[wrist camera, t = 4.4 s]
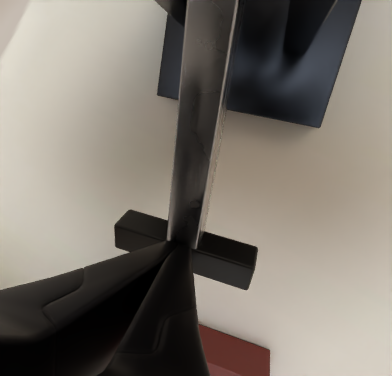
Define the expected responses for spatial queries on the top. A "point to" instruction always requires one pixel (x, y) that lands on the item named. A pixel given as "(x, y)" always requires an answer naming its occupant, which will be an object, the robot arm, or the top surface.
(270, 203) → the top surface
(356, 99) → the top surface
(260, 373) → the dial panel
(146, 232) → the lever
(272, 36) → the lever bracket
